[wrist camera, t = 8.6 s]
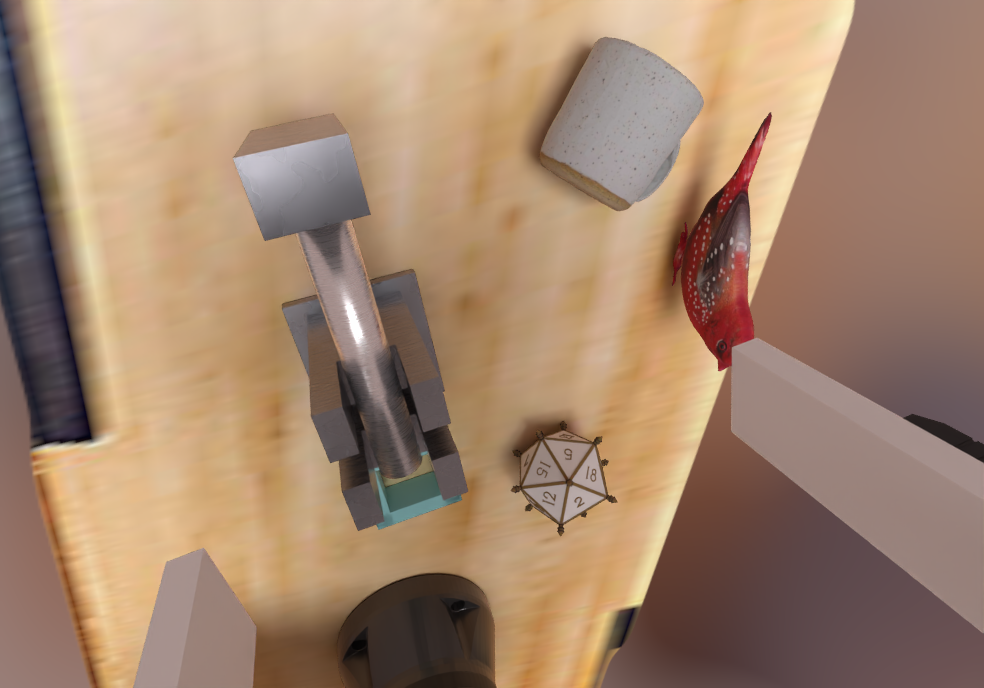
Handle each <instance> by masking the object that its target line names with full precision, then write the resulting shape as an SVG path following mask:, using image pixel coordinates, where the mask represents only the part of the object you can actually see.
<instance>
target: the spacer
mask: <svg viewBox="0 0 984 688" xmlns="http://www.w3.org/2000/svg"><path fill="white" fill-rule="evenodd" d="M426 454H427V451H425V452H422V453H421V455H422V456H423V455H426ZM375 474H376V479H377V484H378V489H379V494H380V500H381V505H382V510H383V515H384V520H385V522H382V523H379V524H376V525H377V527H378V530H379V529H382V528H385V527H388V526H391V525H393V524H396V523H399V522H402V521H405V520H407V519H410V518H413V517H416V516H419V515H421V514H424V513H427V512H430V511H433V510H435V509H438V508H441V507H444V506H447V505H450V504H452V503H455V502H458V501H461V500H462V498H461V495H458V496H455V497H452V498H449V499H446V500H444V501H443V499H442V496H441V493H440V490H439V487H438V484H437V481H436V478H435V475H434V472H430V473H427V474H424V475H421V476H418V477H415V478H412V479H409V480H406V481H403V482H401V483H398V484H395V485H392V486H389V487H386V488H385V486H384V483H383V480H382V478H381V475H380V472H379V468H375Z"/></svg>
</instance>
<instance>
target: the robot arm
mask: <svg viewBox="0 0 984 688" xmlns="http://www.w3.org/2000/svg"><path fill="white" fill-rule="evenodd" d="M731 397H732V398H731V402H732V403H731V405H732V406H731V432H733V433H734V434H735V435H736V436H737V437H739V438H740V439H741V440H743V441H744V442H745V443H746V444H748V445H749V446H750V447H751V448H752V449H754V450H755V451H756V452H757V453H759V454H760V455H761V456H762V457H764V458H765V459H766V460H767V461H769V462H770V463H771V464H772V465H774V466H775V467H776V468H777V469H779V470H780V471H781V472H783V473H784V474H785V475H786V476H787V477H789V478H790V479H792V481H794V482H795V483H796V484H797V485H799V486H800V487H801V488H802V489H804V490H805V491H806V492H807V493H809V494H810V495H811V496H812V497H814V498H815V499H816V500H817V501H819V502H820V503H821V504H822V505H824V506H825V507H827V509H829V510H830V511H831V512H832V513H834V514H835V515H836V516H837V517H839V518H840V519H841V520H843V521H844V522H845V523H846V524H847V525H849V526H850V527H851V528H852V529H854V530H855V531H856V532H857V533H859V534H860V535H861V536H862V537H864V538H865V539H866V540H867V541H869V542H870V543H871V544H872V545H874V546H875V547H876V548H877V549H879V550H880V551H881V552H882V553H884V554H885V555H886V556H887V557H889V558H890V559H891V560H892V561H894V562H895V563H896V564H897V565H899V566H900V567H901V568H902V569H904V570H905V571H906V572H907V573H909V574H910V575H911V576H912V577H914V578H915V579H916V580H917V581H919V582H920V583H921V584H922V585H924V586H925V587H926V588H927V589H929V590H930V591H931V592H933V593H934V594H935V595H936V596H937V597H939V598H940V599H941V600H942V601H944V602H945V603H946V604H947V605H949V606H950V607H951V608H952V609H954V610H955V611H956V612H957V613H958V614H960V615H961V616H962V617H964V618H965V619H966V620H967V621H969V622H970V623H971V624H972V625H973V626H975V627H976V628H977V629H979V630H980V631H981V632H982V633H984V444H982V443H980V442H979V441H978V442H974V441H973V440H972V438H971V437H969V436H967V435H965V434H963V433H961V432H959V431H958V430H956V429H954V428H952V427H950V426H948V425H946V424H944V423H941V422H938V421H934V420H931V419H928V418H924V417H921V416H918V415H914V414H911V415H909V416H907V417H904V418H901V417H900V416H898V415H896V414H894V413H892V412H891V411H888V410H887V409H885V408H883V407H882V406H880V405H878V404H876V403H874V402H872V401H871V400H869V399H867V398H865V397H863V396H862V395H860V394H858V393H856V392H854V391H853V390H851V389H849V388H847V387H845V386H843V385H842V384H840V383H838V382H836V381H834V380H833V379H831V378H829V377H827V376H826V375H824V374H822V373H820V372H818V371H816V370H815V369H813V368H811V367H809V366H807V365H805V364H804V363H802V362H800V361H798V360H797V359H795V358H793V357H791V356H789V355H787V354H786V353H784V352H782V351H780V350H778V349H777V348H775V347H773V346H771V345H769V344H768V343H766V342H764V341H762V340H760V339H758V338H755V339H753V340H750V341H747V342H745V343H742V344H739V345H737V346H734V347H732V396H731ZM256 631H257V627H256V625H255V624H254V622H253V621H252V619H251V618H250V616H249V615H248V613H247V612H246V610H245V609H244V607H243V606H242V604H241V603H240V601H239V600H238V598H237V597H236V595H235V594H234V592H233V591H232V589H231V588H230V586H229V585H228V583H227V582H226V580H225V579H224V577H223V576H222V574H221V573H220V571H219V570H218V568H217V567H216V565H215V564H214V562H213V561H212V559H211V558H210V556H209V555H208V553H207V552H206V550H205V549H204V548H202V549H199V550H197V551H194V552H191V553H189V554H186V555H184V556H181V557H178V558H176V559H173V560H170V561H168V562H166V565H165V568H164V572H163V576H162V580H161V584H160V587H159V591H158V595H157V599H156V603H155V607H154V610H153V614H152V618H151V622H150V626H149V629H148V633H147V637H146V641H145V645H144V648H143V652H142V656H141V660H140V664H139V667H138V671H137V675H136V679H135V683H134V686H133V688H253V677H254V662H255V647H256ZM337 653H338V666H339V673H340V676H341V679H342V682H343V684H344V686H345V688H497V687H496V684H495V626H494V620H493V616H492V613H491V610H490V607H489V605H488V602H487V599H486V597H485V595H484V593H483V592H482V591H481V590H480V589H479V588H478V587H477V586H476V585H475V584H473V583H472V582H470V581H468V580H466V579H463V578H460V577H456V576H451V575H424V576H418V577H413V578H409V579H406V580H403V581H400V582H397V583H394V584H392V585H390V586H388V587H386V588H384V589H382V590H380V591H378V592H376V593H375V594H373V595H372V596H370V597H369V598H368V599H366V600H365V601H364V602H362V603H361V604H360V605H359V606H358V607H357V608H356V609H355V610H354V611H353V612H352V613H351V615H350V616H349V617H348V618H347V620H346V621H345V623H344V625H343V627H342V629H341V631H340V633H339V637H338V642H337Z"/></svg>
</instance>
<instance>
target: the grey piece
mask: <svg viewBox="0 0 984 688" xmlns="http://www.w3.org/2000/svg"><path fill="white" fill-rule="evenodd" d="M233 160H234V163H235V165H236V168H237V170H238V173H239V176H240V178H241V181H242V183H243V186H244V188H245V191H246V194H247V196H248V199H249V201H250V204H251V207H252V209H253V212H254V214H255V217H256V219H257V222H258V225H259V227H260V230H261V232H262V235H263V238H264V240H265V241H266V240H270V239H274V238H278V237H282V236H287V235H291V234H296V237H297V239H298V242H299V245H300V248H301V251H302V253H303V256H304V259H305V262H306V265H307V268H308V270H309V273H310V276H311V279H312V282H313V284H314V287H315V290H316V293H317V296H318V299H319V301H320V304H321V307H322V310H323V313H324V315H325V318H326V321H327V324H328V327H329V330H330V332H331V335H332V338H333V341H334V344H335V346H336V349H337V352H338V355H339V358H340V361H341V363H342V366H343V369H344V372H345V375H346V377H347V380H348V383H349V386H350V389H351V392H352V394H353V397H354V400H355V403H356V406H357V408H358V411H359V414H360V417H361V420H362V422H363V425H364V428H365V431H366V434H367V437H368V439H369V442H370V445H371V448H372V451H373V453H374V456H375V459H376V462H377V465H378V468H379V470H380V473H381V474H382V475H383V476H385V477H387V478H392V479H396V478H402V477H405V476H407V475H410V474H411V473H413V472H414V471H415V470H417V468H418V467H419V466H420V464H421V462H422V455H421V452H420V449H419V445H418V442H417V439H416V435H415V432H414V428H413V425H412V422H411V418H410V415H409V412H408V408H407V405H406V402H405V398H404V395H403V392H402V388H401V385H400V382H399V378H398V375H397V372H396V368H395V365H394V362H393V358H392V355H391V351H390V348H389V345H388V341H387V338H386V335H385V331H384V328H383V325H382V321H381V318H380V315H379V311H378V308H377V305H376V301H375V298H374V295H373V291H372V288H371V285H370V281H369V278H368V274H367V271H366V268H365V264H364V261H363V258H362V254H361V251H360V248H359V244H358V241H357V238H356V234H355V231H354V228H353V224H352V221H351V219H355V218H359V217H363V216H367V215H371V214H370V211H369V207H368V204H367V200H366V196H365V193H364V189H363V186H362V182H361V178H360V175H359V171H358V168H357V164H356V161H355V157H354V153H353V150H352V146H351V143H350V139H349V135H348V133H347V131H346V130H345V129H344V127H343V126H342V125H341V123H340V122H339V120H338V119H337V118H336V116H335V115H334V114H328V115H323V116H319V117H314V118H309V119H304V120H300V121H295V122H290V123H285V124H281V125H276V126H271V127H266V128H262V129H257V130H252V131H250V133H249V134H248V136H247V137H246V139H245V141H244V142H243V144H242V145H241V147H240V148H239V150H238V151H237V153H236V154H235V156H234V157H233Z"/></svg>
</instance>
